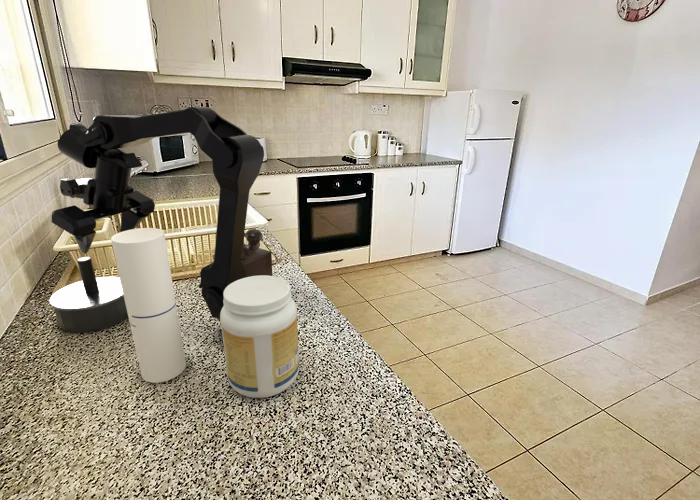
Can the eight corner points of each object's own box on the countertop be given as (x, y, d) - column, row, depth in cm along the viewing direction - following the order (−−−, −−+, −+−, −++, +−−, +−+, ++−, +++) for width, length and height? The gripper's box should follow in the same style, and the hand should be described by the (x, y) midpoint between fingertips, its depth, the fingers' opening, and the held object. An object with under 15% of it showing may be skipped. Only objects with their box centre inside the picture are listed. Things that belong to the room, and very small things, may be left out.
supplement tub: (291, 348, 72) (287, 268, 66) (307, 390, 62) (305, 300, 55) (225, 361, 68) (215, 278, 62) (230, 409, 57) (219, 314, 51)
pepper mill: (213, 289, 94) (204, 221, 87) (245, 274, 103) (240, 211, 96) (258, 307, 87) (252, 233, 80) (289, 288, 95) (286, 221, 89)
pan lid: (147, 284, 85) (140, 249, 82) (94, 317, 72) (83, 277, 69) (92, 277, 88) (84, 243, 85) (32, 308, 75) (19, 269, 71)
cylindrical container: (169, 385, 62) (142, 245, 53) (131, 379, 63) (99, 240, 54) (194, 359, 68) (174, 230, 59) (159, 353, 70) (134, 226, 61)
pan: (147, 303, 87) (143, 283, 85) (99, 336, 74) (93, 313, 72) (97, 297, 89) (92, 276, 87) (43, 327, 77) (35, 304, 75)
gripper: (120, 155, 81) (112, 216, 88) (28, 167, 65) (27, 241, 71) (161, 178, 80) (150, 238, 87) (78, 196, 63) (73, 269, 70)
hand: (104, 245), depth 79 cm, fingers open, 9 cm apart
